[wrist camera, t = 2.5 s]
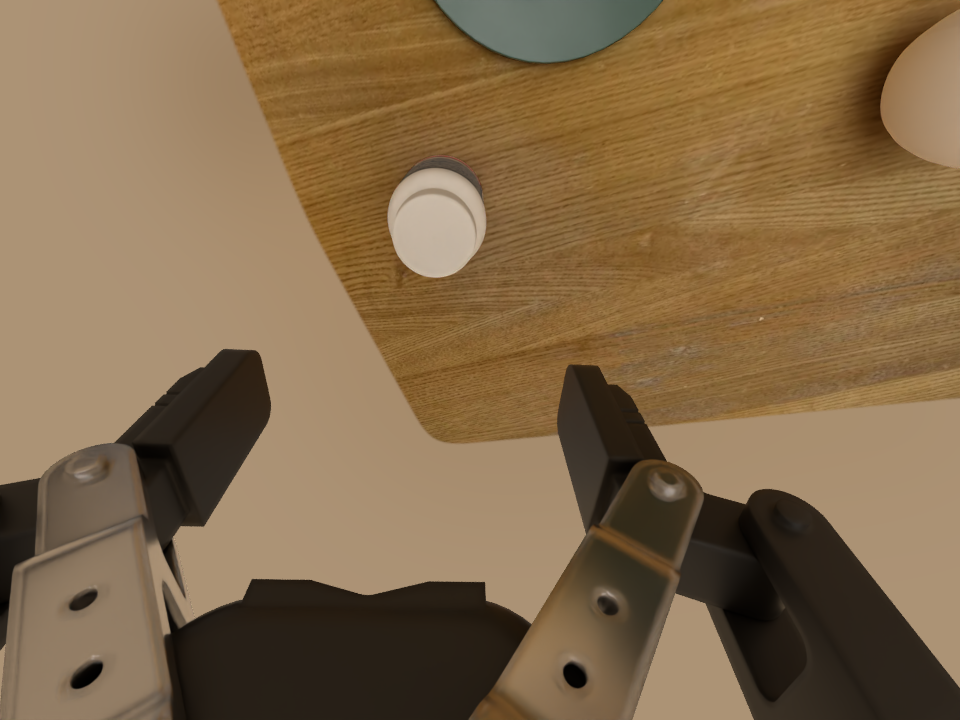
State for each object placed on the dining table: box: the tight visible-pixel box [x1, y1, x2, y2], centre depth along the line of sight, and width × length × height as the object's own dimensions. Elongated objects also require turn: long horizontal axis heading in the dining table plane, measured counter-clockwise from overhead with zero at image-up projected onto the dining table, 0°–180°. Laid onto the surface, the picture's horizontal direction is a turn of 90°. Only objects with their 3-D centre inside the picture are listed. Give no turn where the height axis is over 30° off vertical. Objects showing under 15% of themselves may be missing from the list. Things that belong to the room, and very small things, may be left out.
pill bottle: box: [388, 155, 486, 278], centre depth 24 cm, size 5×5×9 cm
